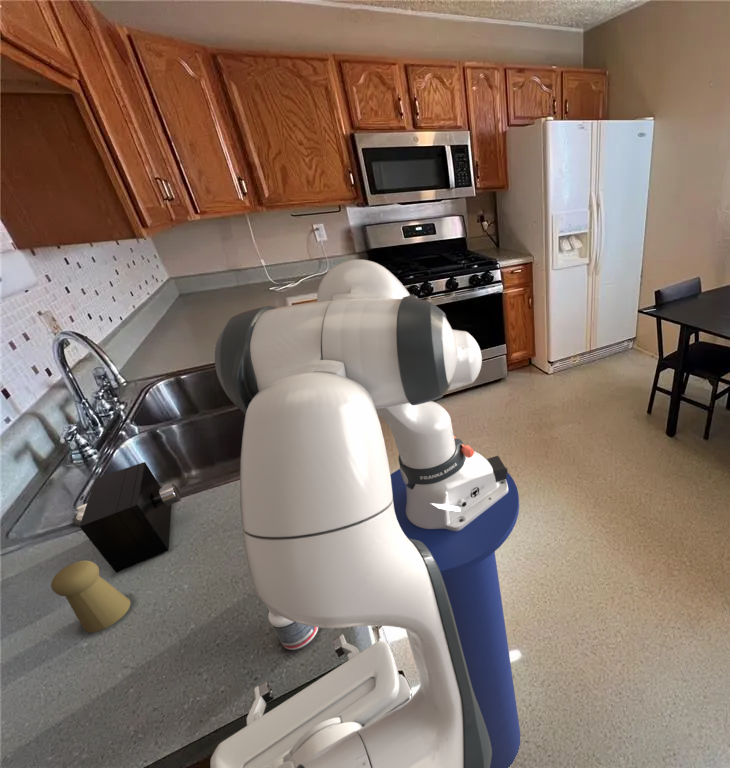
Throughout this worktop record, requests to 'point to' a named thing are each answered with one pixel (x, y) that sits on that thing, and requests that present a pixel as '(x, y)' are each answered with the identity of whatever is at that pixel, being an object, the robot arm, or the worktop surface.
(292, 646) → the pill bottle
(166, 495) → the push knob
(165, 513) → the control block
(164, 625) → the worktop surface
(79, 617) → the cork
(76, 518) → the stove knob
